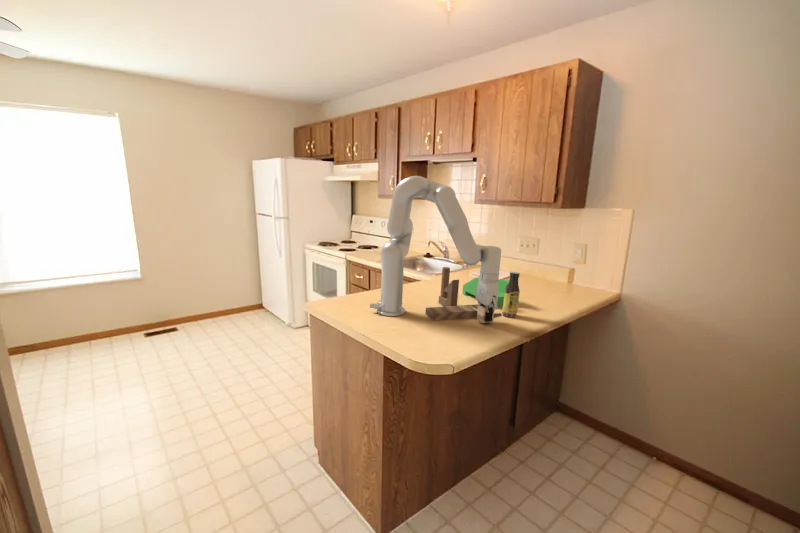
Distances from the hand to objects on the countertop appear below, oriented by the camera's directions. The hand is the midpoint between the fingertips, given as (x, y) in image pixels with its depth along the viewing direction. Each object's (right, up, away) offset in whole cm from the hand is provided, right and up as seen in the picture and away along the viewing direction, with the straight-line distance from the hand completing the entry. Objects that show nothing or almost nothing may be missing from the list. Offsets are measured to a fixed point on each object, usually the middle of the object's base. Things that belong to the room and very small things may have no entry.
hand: (484, 318), depth 148 cm
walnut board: (-10, 0, +9) cm, 13 cm away
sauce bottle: (+14, -1, +11) cm, 18 cm away
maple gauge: (+2, -1, +1) cm, 3 cm away
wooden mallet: (-13, +3, +21) cm, 25 cm away
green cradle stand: (+9, +4, +35) cm, 36 cm away
